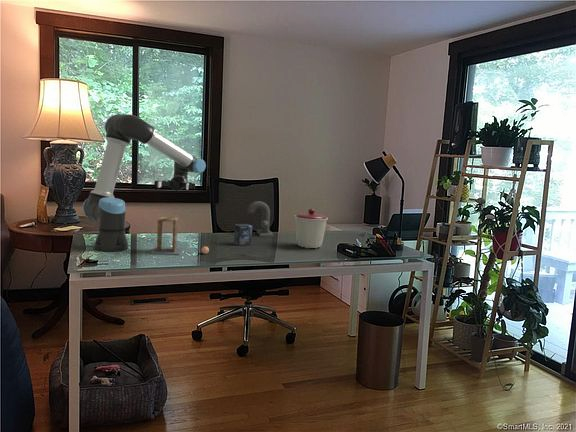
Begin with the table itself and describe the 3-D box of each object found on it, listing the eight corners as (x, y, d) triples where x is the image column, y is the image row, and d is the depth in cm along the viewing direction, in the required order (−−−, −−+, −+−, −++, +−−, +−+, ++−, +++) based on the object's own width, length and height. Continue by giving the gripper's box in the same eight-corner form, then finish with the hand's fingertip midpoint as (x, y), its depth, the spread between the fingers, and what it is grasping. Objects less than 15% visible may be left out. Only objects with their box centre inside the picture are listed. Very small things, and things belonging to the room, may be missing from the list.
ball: (201, 254, 235) (201, 247, 234) (201, 252, 238) (201, 245, 238) (208, 254, 235) (208, 247, 235) (208, 253, 238) (209, 245, 238)
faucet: (244, 231, 306) (246, 198, 303) (269, 232, 309) (271, 200, 306) (247, 236, 288) (249, 202, 286) (274, 237, 291) (276, 203, 288)
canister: (316, 243, 281) (319, 206, 279) (331, 250, 265) (334, 211, 262) (287, 243, 274) (289, 206, 272) (300, 250, 258) (303, 210, 255)
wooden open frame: (156, 251, 231) (157, 218, 229) (159, 248, 239) (160, 216, 237) (174, 252, 232) (175, 219, 230) (176, 248, 240) (178, 217, 238)
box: (238, 245, 261) (239, 225, 259) (233, 243, 265) (234, 224, 264) (251, 245, 265) (252, 225, 263) (246, 242, 270) (247, 223, 268)
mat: (150, 253, 229) (150, 252, 228) (155, 248, 241) (155, 246, 241) (179, 255, 230) (179, 253, 230) (182, 249, 243) (182, 248, 243)
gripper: (201, 191, 265) (198, 195, 244) (153, 188, 262) (146, 191, 241) (202, 177, 264) (199, 180, 243) (154, 174, 262) (147, 176, 241)
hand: (172, 185), depth 242 cm, fingers open, 13 cm apart
